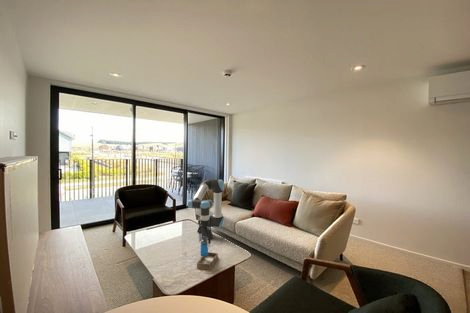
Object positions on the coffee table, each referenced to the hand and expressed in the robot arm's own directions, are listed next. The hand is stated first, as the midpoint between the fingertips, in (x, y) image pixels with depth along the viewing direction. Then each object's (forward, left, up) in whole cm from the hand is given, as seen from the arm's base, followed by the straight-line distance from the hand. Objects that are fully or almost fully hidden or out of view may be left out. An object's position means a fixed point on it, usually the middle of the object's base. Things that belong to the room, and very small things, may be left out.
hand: (204, 244), depth 168 cm
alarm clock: (0, 0, -10) cm, 10 cm away
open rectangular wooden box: (0, +3, -16) cm, 16 cm away
